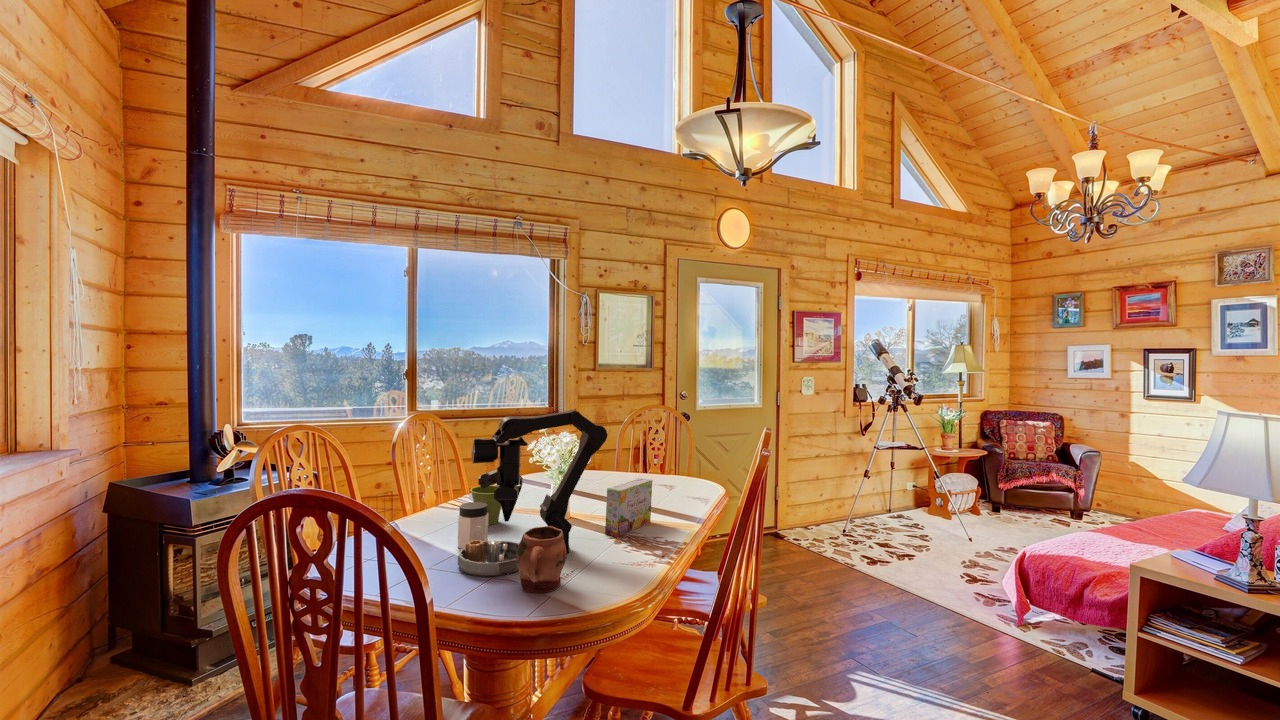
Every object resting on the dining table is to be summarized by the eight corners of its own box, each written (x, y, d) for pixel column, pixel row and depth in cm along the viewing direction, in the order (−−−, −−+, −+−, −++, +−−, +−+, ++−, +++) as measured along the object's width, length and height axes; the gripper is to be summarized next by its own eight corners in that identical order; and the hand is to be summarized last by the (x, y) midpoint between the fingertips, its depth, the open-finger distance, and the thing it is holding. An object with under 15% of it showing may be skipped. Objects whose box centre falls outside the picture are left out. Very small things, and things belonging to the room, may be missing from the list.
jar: (462, 552, 170) (462, 510, 169) (453, 544, 176) (454, 504, 176) (492, 547, 174) (493, 506, 174) (483, 539, 181) (484, 500, 181)
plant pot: (479, 529, 191) (480, 495, 191) (463, 521, 200) (463, 488, 200) (512, 523, 199) (513, 490, 199) (494, 515, 208) (495, 483, 208)
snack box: (619, 538, 186) (620, 490, 186) (604, 535, 189) (605, 487, 189) (651, 522, 205) (653, 478, 204) (637, 519, 207) (638, 476, 207)
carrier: (529, 552, 170) (530, 532, 170) (524, 576, 153) (525, 553, 152) (465, 553, 168) (465, 532, 168) (452, 577, 150) (453, 554, 150)
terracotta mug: (562, 606, 135) (563, 546, 135) (508, 606, 135) (509, 545, 134) (568, 574, 155) (570, 521, 155) (521, 573, 154) (523, 520, 154)
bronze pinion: (485, 557, 163) (485, 539, 163) (482, 564, 158) (483, 545, 158) (466, 558, 162) (467, 539, 162) (463, 564, 157) (464, 545, 157)
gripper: (485, 455, 176) (484, 508, 176) (475, 468, 157) (473, 526, 157) (523, 456, 177) (522, 508, 177) (517, 468, 159) (516, 526, 159)
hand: (508, 516), depth 168 cm, fingers open, 9 cm apart
